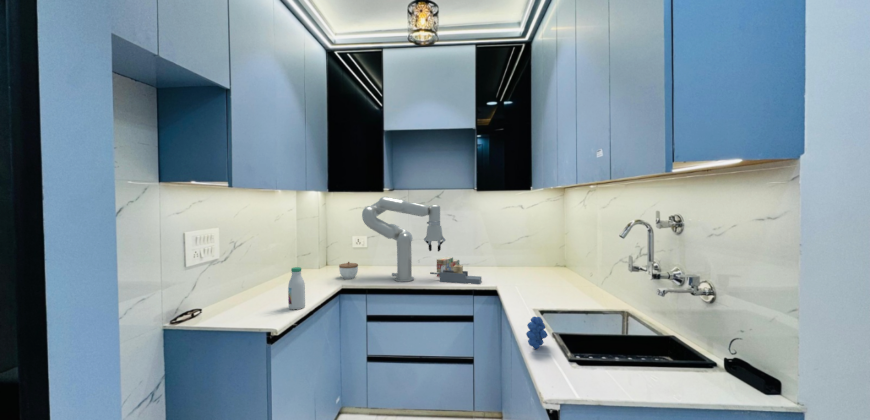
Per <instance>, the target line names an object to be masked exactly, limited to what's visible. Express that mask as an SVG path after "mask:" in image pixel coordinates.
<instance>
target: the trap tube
mask: <svg viewBox="0 0 870 420" xmlns="http://www.w3.org/2000/svg"><path fill="white" fill-rule="evenodd" d="M468 274H469V271H466V270H463V274H462V273H454V271H453V270H445V273H443V272H440V277H439V282H440V283H451V284H452V283H455V284H468V283H471V284H472V285H473V284H474V285H480V284H481V283H482V276H480V275H479V276H478V275H477V276H475V275H474V276H473V275H468Z"/></svg>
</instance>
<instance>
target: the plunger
mask: <svg viewBox="0 0 870 420" xmlns="http://www.w3.org/2000/svg"><path fill="white" fill-rule="evenodd" d="M441 272H443V273H445V265H443V266H441ZM429 274H430V275H436V276H437V275H440V273H437V272H435V271H434V272H432V271H431V272H429Z"/></svg>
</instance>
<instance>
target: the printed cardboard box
mask: <svg viewBox="0 0 870 420" xmlns="http://www.w3.org/2000/svg"><path fill="white" fill-rule="evenodd" d="M443 265H445V270H453V271H454V266H455V265H461V264H460V259H456V258H454V257H451V256H444V257H440V258H436V273H440V272H441V266H443ZM436 277H437V278H440V275H437V274H436Z"/></svg>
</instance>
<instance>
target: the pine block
mask: <svg viewBox="0 0 870 420" xmlns="http://www.w3.org/2000/svg"><path fill="white" fill-rule="evenodd" d="M463 271H464V265H461V264H460V265H455V266H454V273H462V274H463Z"/></svg>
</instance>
